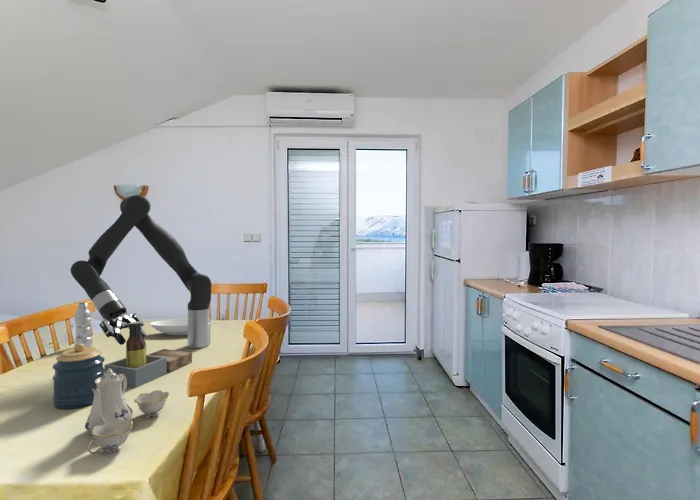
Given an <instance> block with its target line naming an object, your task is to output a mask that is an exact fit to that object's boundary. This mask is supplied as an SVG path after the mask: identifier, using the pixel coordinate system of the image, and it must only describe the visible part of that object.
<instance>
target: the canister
mask: <svg viewBox="0 0 700 500" xmlns="http://www.w3.org/2000/svg"><path fill="white" fill-rule="evenodd" d="M55 359H56V362H55V363H53V365H52V369H53V370H54V374H53V376H52V380H53V396H52V402H53V405H54V407H55V408H57V409H59V410H60V409H61V410H73V409H78V408H84V407H87V406H90V405H92V404H93V399H94V392H93V390H92V389H94V388H97V386H96V383H95V380H96V379H98V378H100V377H102V376H103V375H104V374H105V369H104V365H103V363H104V362H105V357H104V356H102V350H100V349H97V348H95V347H92V346H90V347H84V344H82V343H78V344H76V345H75V344H74V346H73V348H70V349H67V350H64V351H63V352H62V353H60V354H59V355H57V356H56V357H55Z"/></svg>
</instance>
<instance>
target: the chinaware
mask: <svg viewBox="0 0 700 500" xmlns="http://www.w3.org/2000/svg"><path fill="white" fill-rule="evenodd" d="M122 380H123V385H122ZM95 383H96V386H97V388H94V389H92V390H93V392H94V399H93V404H91V408H90V412H89V415H88V416H87V419H86V422H85V423H84V424H85V425H84V428H85V429H86V431H88V432H90V436H91V437H93V439H92V440H90V442H88V443H89V444H88V446H87V451H88V453H90V454H95V453H97V452H98V451H99V452H100V453H101V454H102V453H103V452H106V451H107V452H106V453H108V454H109V453H112V451H113V452H116V450H118V451H119V450H120V449H119V448H121V446H123V444H124V443H125V442H126V441H127V439H128V438H129V436H130V433H131V430H132V429H133V427H134V424H133V413H134V412H133V409H132V407H131V406H130V405H129V404H128V403H127V402H126V396H124V395H125V393H126V391H127V387H128V386H127V378H126V376H125V375H124V374H119V375H117V374H116V373H114V372H113V371H112V370H111V369H110V368H109V369H108V371H106V374H105V373H104V375H103V376H102V377H100V378H98V379H96V380H95ZM169 395H170V392H169V391H165V392H163V391H162V390H158V389H157V390H152V391H150V392H142V393H140V394H139V395H138V396H137V398H134V403H137V406H138V407H137V408H138V409H139V411H140V412H142V414H144V415H145V416H146V415H147V416H146V418H154V417H156V416H158V415H159V412H160V411H161V410H162V409H163V408H164V406H165V404H166V401H167V399H168V397H169ZM157 414H158V415H157ZM155 415H156V416H155ZM151 416H153V417H151ZM93 442H94V443H96V444H97V445H98V446H99V448H97V449H95V450H94V451H91V445H92V444H93Z"/></svg>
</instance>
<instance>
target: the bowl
mask: <svg viewBox="0 0 700 500" xmlns="http://www.w3.org/2000/svg"><path fill="white" fill-rule="evenodd" d="M209 323H210V326H211V325H212V323H214V320H213V319H210V318H209ZM149 324H150V326H151V327H152V328H153V329H155V330H156V331H158V332H159V333H164V334H167V335H168V336H188V318H177V319H174V318H173V319H164V320H159V321H153V322H150V323H149Z"/></svg>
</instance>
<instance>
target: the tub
mask: <svg viewBox="0 0 700 500" xmlns="http://www.w3.org/2000/svg"><path fill="white" fill-rule="evenodd" d="M146 361H147V364H146V365H144V366H141V367H139V368H136V369H135V368H128V367H127V363H126V357H124V358H120V359H117V360H116V361H112V362H110V363H107V364H104V365H103V368H104V369H105V371H104V374H106V371H108V369H109V368H110V369H111V370H112V371H113V372H114V373H116V374H117V375H119V374H124V375H125V376H126V378H127V387H129V388H138V387H140V386H142V385H145V384H147V383H149V382H151V381H153V380H157V379H158V378H160V377H162V376H164V375H167V373H168V372H167V357H159V356H152V355H148V354H146ZM122 386H123V380H122Z"/></svg>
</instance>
